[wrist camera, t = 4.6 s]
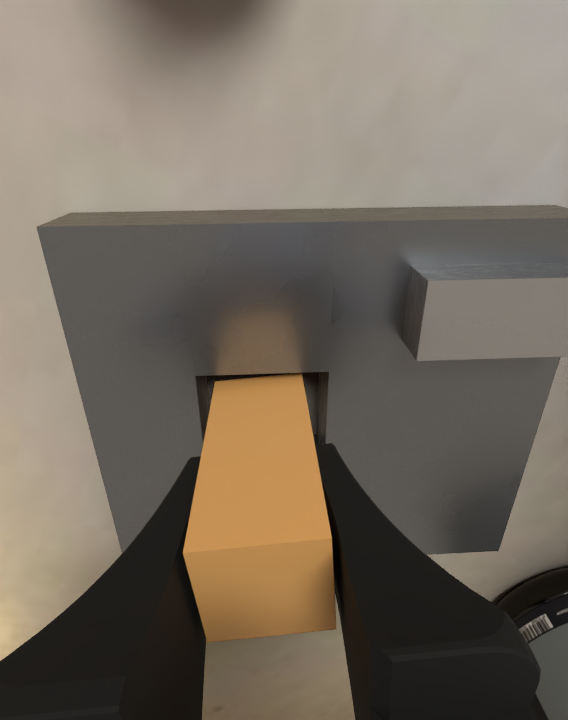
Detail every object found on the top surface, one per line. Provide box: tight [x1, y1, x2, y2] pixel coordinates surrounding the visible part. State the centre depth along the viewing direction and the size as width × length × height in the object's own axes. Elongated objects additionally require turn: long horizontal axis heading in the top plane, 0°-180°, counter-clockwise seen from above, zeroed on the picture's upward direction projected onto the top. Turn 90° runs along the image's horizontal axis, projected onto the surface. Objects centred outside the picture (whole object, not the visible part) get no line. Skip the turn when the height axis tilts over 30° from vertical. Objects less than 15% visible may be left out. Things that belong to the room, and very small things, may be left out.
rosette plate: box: [37, 205, 568, 554], centre depth 16 cm, size 16×14×4 cm
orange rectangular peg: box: [183, 373, 336, 642], centre depth 12 cm, size 3×3×7 cm
